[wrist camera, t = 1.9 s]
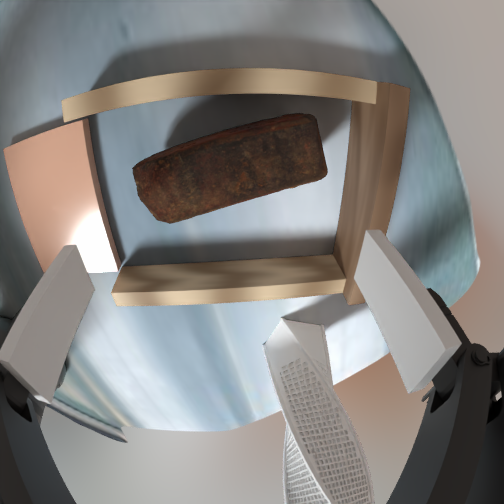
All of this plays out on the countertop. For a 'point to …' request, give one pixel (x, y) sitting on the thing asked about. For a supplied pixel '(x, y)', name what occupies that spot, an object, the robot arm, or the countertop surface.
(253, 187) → the brick
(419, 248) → the countertop surface
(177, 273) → the channel
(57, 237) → the tile
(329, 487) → the skyscraper
